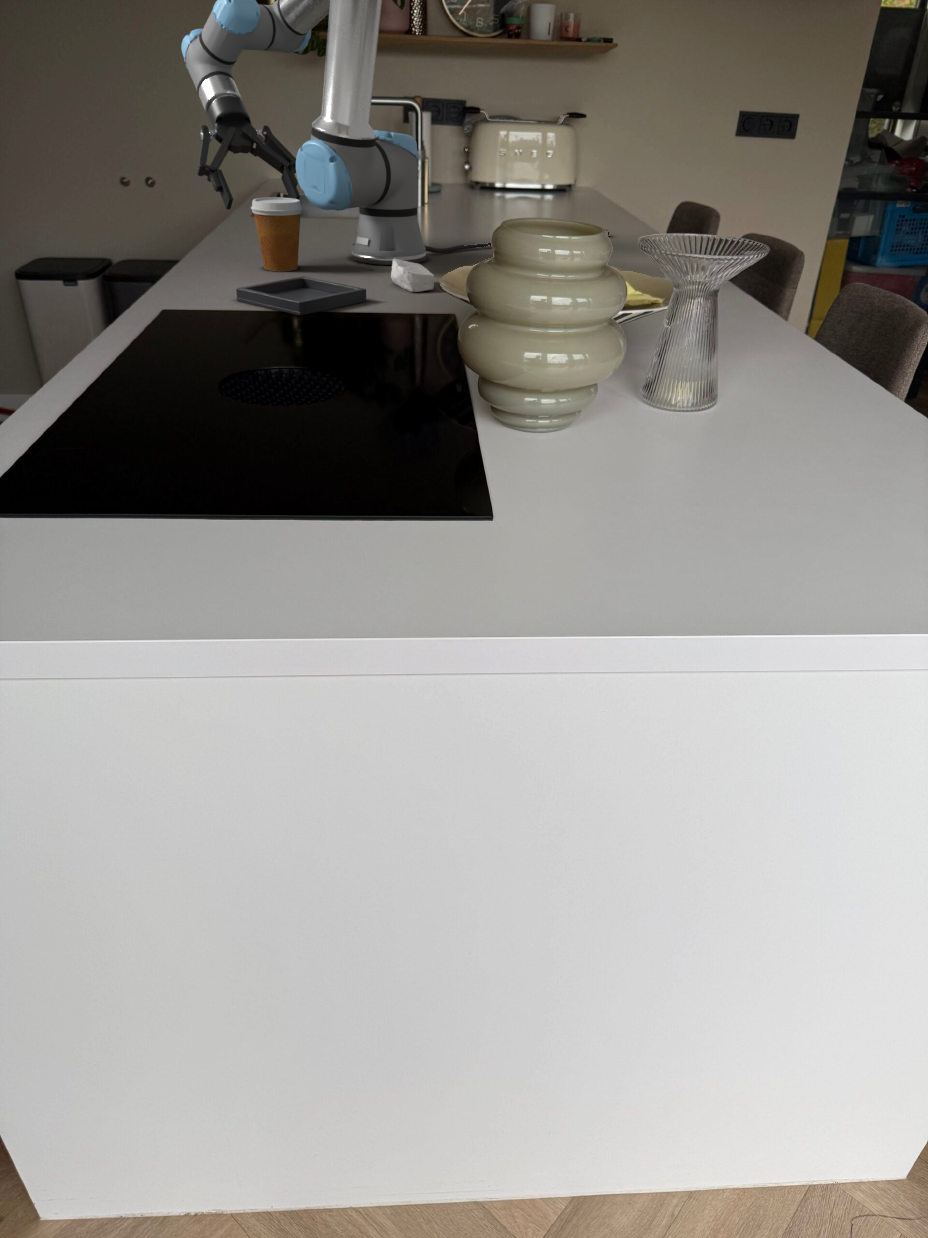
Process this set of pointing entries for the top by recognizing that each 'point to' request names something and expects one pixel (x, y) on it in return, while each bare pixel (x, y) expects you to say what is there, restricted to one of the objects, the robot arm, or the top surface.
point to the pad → (301, 295)
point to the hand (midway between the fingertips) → (263, 202)
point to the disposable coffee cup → (278, 231)
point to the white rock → (411, 276)
